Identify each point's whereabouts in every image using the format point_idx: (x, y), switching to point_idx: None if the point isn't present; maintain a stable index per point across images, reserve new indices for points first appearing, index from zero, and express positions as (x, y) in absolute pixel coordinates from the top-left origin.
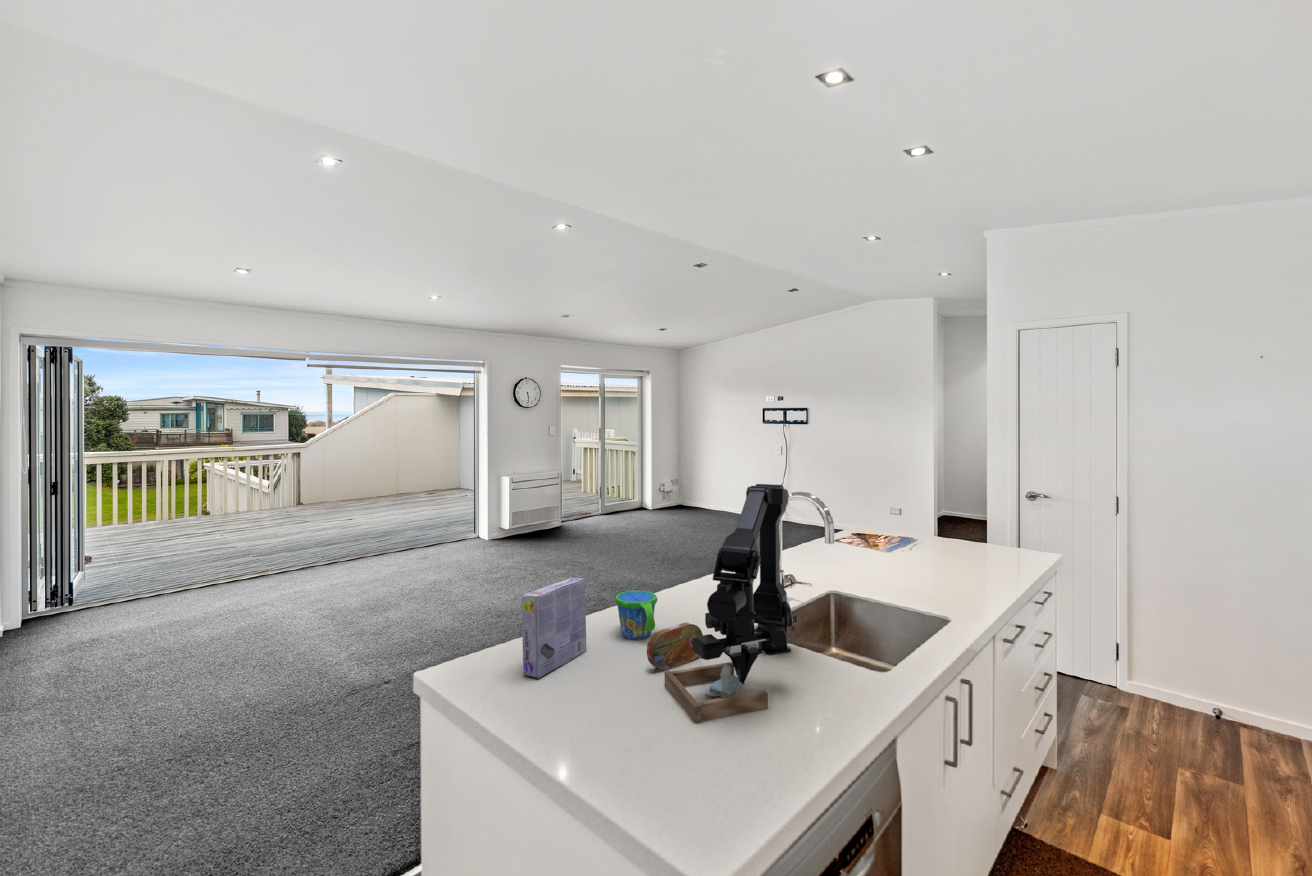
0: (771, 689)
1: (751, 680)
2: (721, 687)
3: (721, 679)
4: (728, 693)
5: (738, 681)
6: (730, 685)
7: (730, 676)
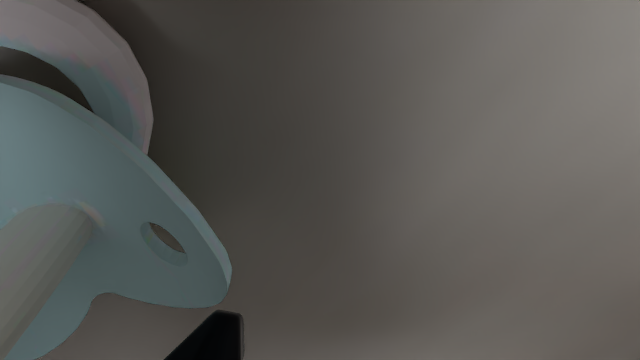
0: (613, 319)
1: (614, 35)
2: (4, 185)
3: (7, 97)
4: (27, 355)
5: (210, 287)
6: (118, 222)
7: (138, 168)
